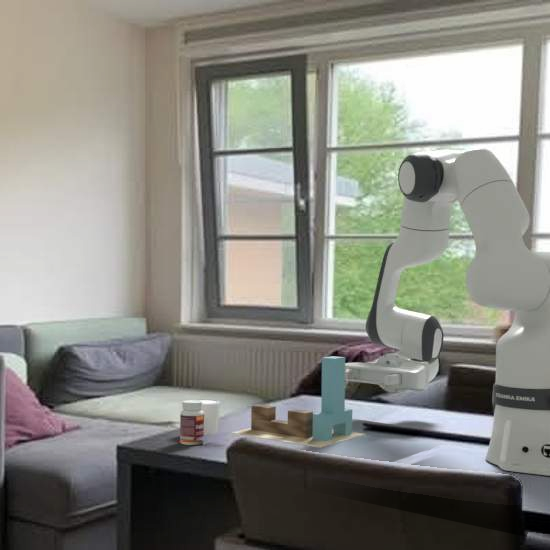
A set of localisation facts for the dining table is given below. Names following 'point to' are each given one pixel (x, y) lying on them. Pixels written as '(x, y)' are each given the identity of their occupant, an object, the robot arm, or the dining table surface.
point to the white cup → (210, 416)
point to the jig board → (299, 440)
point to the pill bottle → (191, 422)
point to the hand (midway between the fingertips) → (363, 378)
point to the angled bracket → (332, 402)
